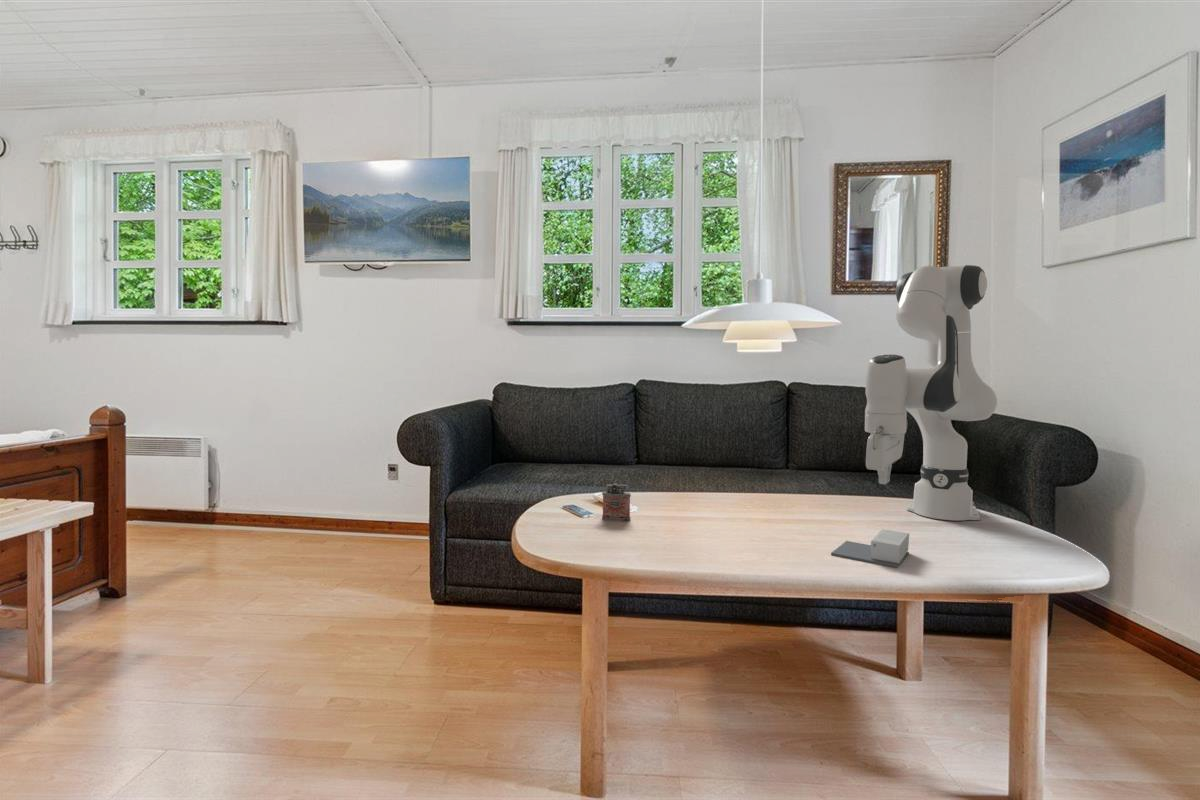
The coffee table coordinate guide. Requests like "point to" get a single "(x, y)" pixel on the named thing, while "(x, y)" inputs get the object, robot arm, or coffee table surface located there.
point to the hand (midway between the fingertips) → (884, 483)
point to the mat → (861, 553)
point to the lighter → (616, 503)
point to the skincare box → (889, 546)
